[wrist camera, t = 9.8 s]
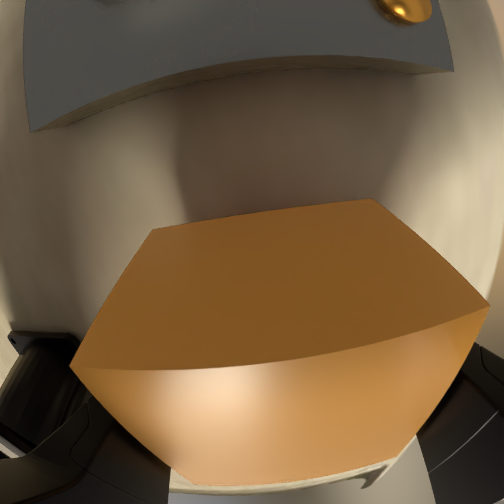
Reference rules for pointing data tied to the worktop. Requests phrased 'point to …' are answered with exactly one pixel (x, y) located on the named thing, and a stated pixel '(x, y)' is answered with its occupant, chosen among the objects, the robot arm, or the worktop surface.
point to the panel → (210, 45)
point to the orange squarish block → (280, 342)
